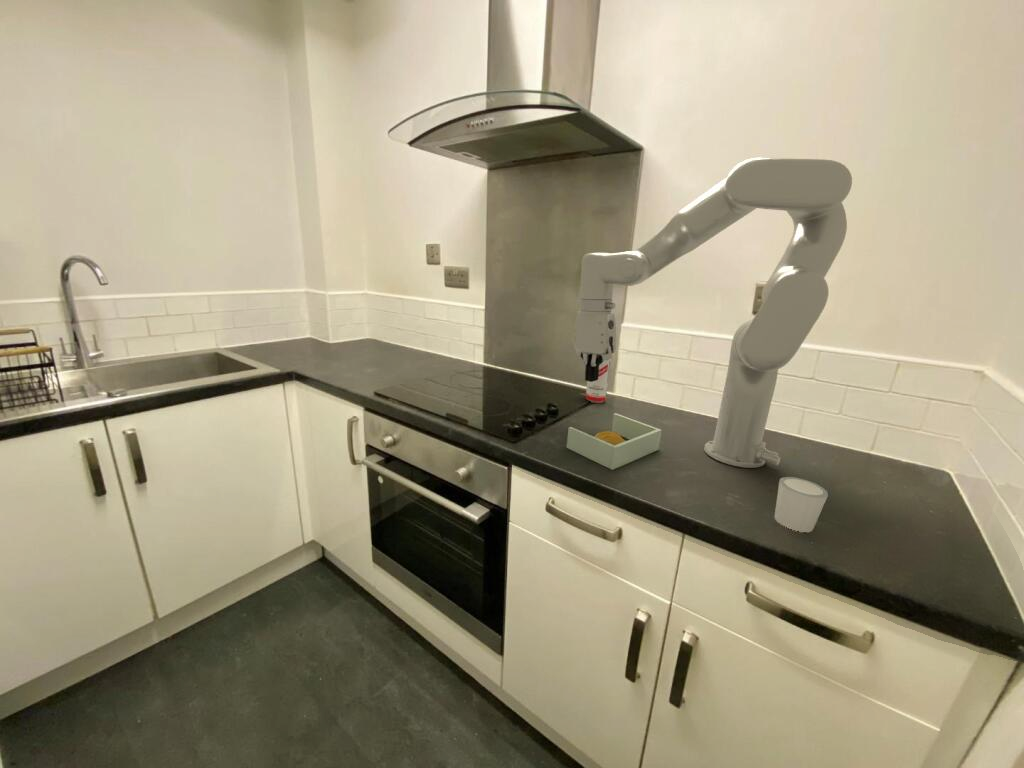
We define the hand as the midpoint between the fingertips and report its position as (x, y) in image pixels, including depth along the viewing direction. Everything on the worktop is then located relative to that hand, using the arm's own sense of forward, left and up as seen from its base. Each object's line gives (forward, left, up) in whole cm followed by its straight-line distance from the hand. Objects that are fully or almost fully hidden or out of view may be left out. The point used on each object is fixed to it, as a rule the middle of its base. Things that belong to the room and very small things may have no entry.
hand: (591, 380), depth 105 cm
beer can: (+13, -20, -13) cm, 28 cm away
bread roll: (-12, +6, -13) cm, 19 cm away
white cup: (-49, +3, -13) cm, 50 cm away
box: (-12, +5, -13) cm, 18 cm away
